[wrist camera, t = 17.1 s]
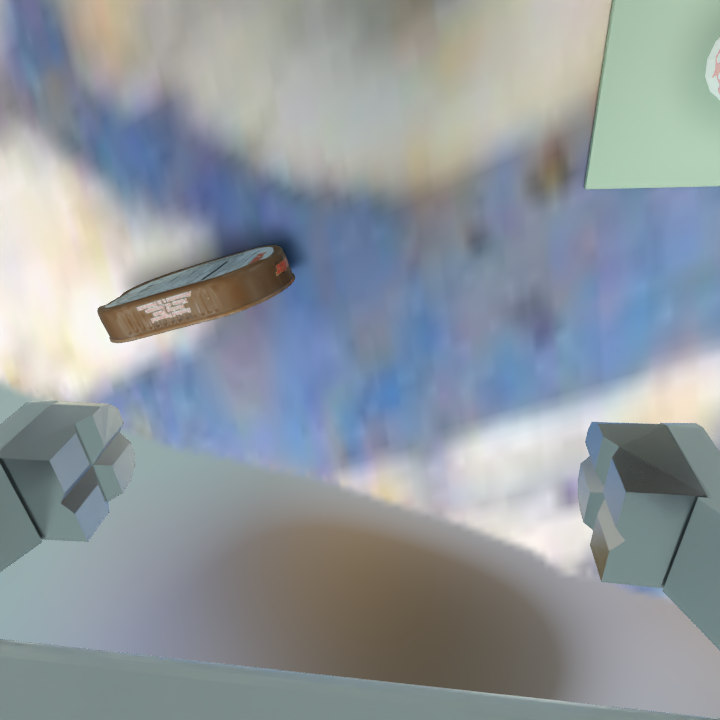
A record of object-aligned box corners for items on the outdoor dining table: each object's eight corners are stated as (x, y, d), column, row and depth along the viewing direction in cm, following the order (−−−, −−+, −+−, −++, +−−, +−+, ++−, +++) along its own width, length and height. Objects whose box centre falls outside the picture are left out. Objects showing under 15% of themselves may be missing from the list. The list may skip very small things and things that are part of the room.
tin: (148, 310, 45) (91, 360, 38) (129, 277, 43) (66, 322, 36) (308, 266, 41) (278, 312, 34) (293, 227, 39) (258, 266, 32)
